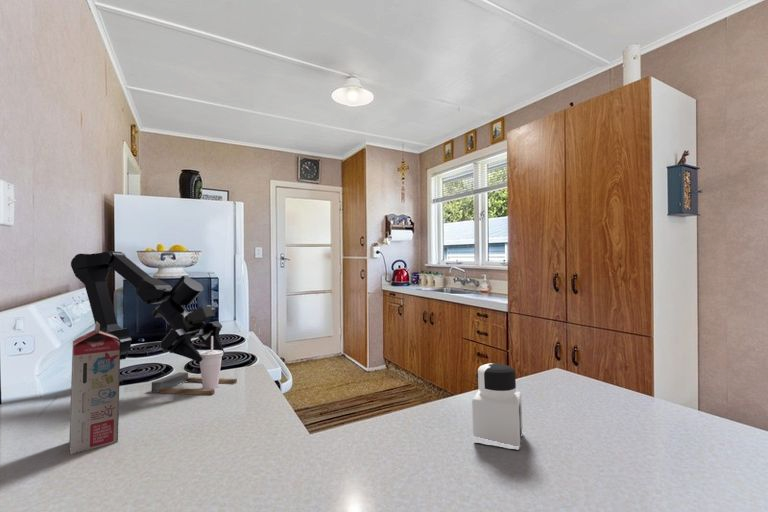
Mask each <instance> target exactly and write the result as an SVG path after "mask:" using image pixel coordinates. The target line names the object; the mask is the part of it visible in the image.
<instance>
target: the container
mask: <svg viewBox="0 0 768 512" xmlns="http://www.w3.org/2000/svg"><path fill="white" fill-rule="evenodd" d="M477 377H478V378H477V380H478V381H477V382H478V385H477V386H478V387H477V388H478V390H477V391H476V393H475V394H474V396H473V398H472V400H471V404H472V405H471V407H472V433H473V434H472V437H473V436H476V437H480V438H484V439H488V440H492V441H497V442H500V443H504V444H510V445H513V446H520V447H521V445H520V441H521V442H522V440H521V435H522V436H523V434H522V429H523V428H524V427H523V407H522V405H523V404H522V393H521V391H517V383H516V370H515V369H514V368H513V367H512V366H510V365H507V364H503V363H496V362H495V363H492V362H491V363H490V362H489V363H485V364H482V365H479V367H478V369H477ZM523 430H524V429H523Z"/></svg>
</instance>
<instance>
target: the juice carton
mask: <svg viewBox="0 0 768 512" xmlns="http://www.w3.org/2000/svg"><path fill="white" fill-rule="evenodd" d="M120 342H121V341H120V340H119V339H118V338H117V337H116V336H114V335H111V334H108V333H105V332H102V331H100V324H99V323H98V322H97V321H96V324H95V323H94V330H91V331H89V332H88V333H85V334H83V335H81V336H79V337H77V338H75V339H74V340H72V349H71V350H72V356H71V357H72V358H71V386H70V388H71V389H70V411H69V412H70V415H69V440H68V442H69V449H70V448H71V455H73V453H74V454H77V453H76V452H78V453H81V452H80V451H82V452H85V451H84V450H86V451H89V449H90V450H93V449H96V448H101V447H105V446H109V445H111V444H116V443H118V442H119V409H120V406H119V405H120V383H119V380H120V379H121V377H120V375H121V374H120V371H121V360H120Z"/></svg>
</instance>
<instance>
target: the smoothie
mask: <svg viewBox="0 0 768 512" xmlns="http://www.w3.org/2000/svg"><path fill="white" fill-rule="evenodd" d="M199 354H200V355H201V357H202V359H203V360H202V361H201V362H199V367H200V375H201V377H200V378H202V382H201V384H202V389H208V390H215V389H217V388H219V383H218V382H219V378H220V372H221V366H222V358H223V355H224V353H223V351H222V350H213V336H211V348H210V350H204V351H201V352H199Z"/></svg>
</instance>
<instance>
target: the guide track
mask: <svg viewBox="0 0 768 512" xmlns="http://www.w3.org/2000/svg"><path fill="white" fill-rule="evenodd" d="M237 380H238V378H221V377H219V382H218V384H219V383H220V384H236V382H237V383H238V381H237ZM185 381H198V382H197V383H202V377H196V376H195V377H194V376H193V377H192V376H191V377H189V372H186V371H185V372H183V371H182V372H181V371H179V372H176V373H173V374H171V375H167V376H165V377H162V378H159V379H157V380H154V381H152V382H151V391H158V392H164V393H163V394H181V395H182V394H184V395H205V396H206V395H207V396H213V395H215V393H216V392H215V391H216V390H215V389H211V390H208V389H203V388H202V389H201V388H184V387H183V388H182V387H180V388H179V387H177V386H179V385H178V384H180V383H182V384H184V383H183V382H185ZM185 383H186V382H185ZM176 385H177V386H176ZM180 385H181V384H180ZM173 386H175V387H177V388H175V387H173ZM171 387H172V388H171ZM158 392H157V393H158Z"/></svg>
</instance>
